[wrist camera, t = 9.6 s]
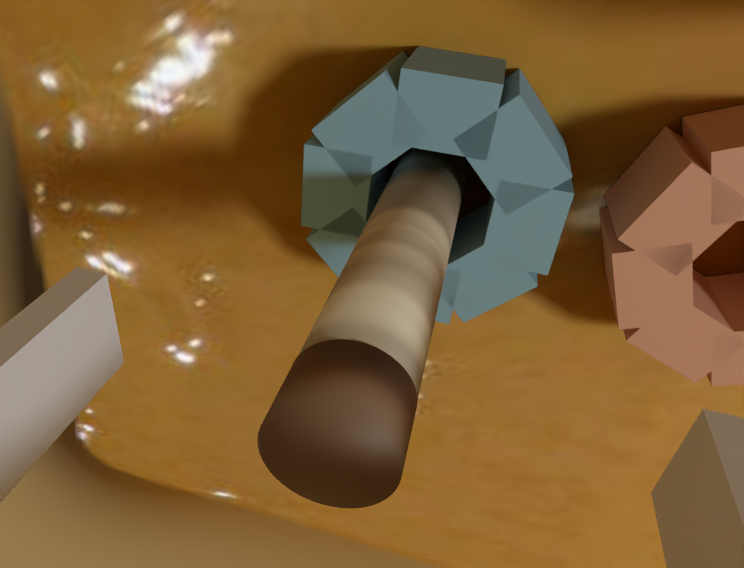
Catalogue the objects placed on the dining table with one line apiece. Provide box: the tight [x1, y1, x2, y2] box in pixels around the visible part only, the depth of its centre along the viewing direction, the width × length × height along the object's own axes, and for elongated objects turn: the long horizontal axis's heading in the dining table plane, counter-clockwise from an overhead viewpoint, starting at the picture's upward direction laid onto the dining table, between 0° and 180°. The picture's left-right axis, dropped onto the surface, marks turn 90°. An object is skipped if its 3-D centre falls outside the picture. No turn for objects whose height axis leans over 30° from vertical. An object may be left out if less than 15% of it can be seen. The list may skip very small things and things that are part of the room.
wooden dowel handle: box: [258, 147, 467, 508], centre depth 18 cm, size 3×3×16 cm
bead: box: [301, 46, 575, 324], centre depth 23 cm, size 10×10×4 cm
